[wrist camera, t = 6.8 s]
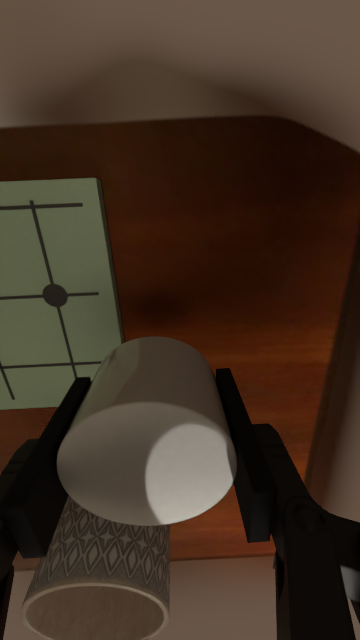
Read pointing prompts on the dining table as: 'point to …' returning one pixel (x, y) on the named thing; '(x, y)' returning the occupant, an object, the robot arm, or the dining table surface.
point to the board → (54, 289)
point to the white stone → (149, 437)
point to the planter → (100, 580)
